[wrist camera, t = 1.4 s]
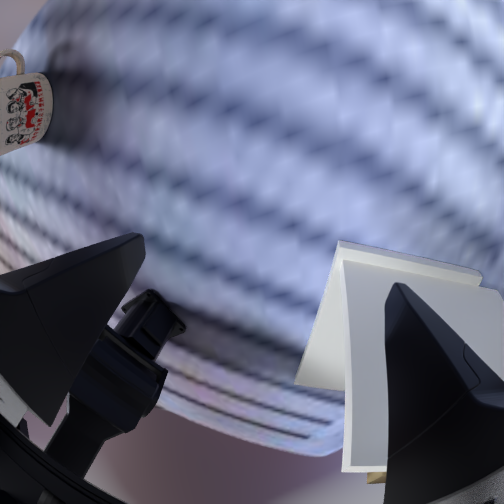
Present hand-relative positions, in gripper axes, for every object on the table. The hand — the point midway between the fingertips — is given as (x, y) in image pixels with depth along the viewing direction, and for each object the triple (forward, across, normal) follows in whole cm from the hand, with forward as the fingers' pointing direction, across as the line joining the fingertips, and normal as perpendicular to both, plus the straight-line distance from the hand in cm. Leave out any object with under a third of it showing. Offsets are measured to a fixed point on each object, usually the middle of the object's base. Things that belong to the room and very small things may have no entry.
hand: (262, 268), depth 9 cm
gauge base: (+13, -13, +14) cm, 23 cm away
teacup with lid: (+13, +29, -8) cm, 33 cm away
